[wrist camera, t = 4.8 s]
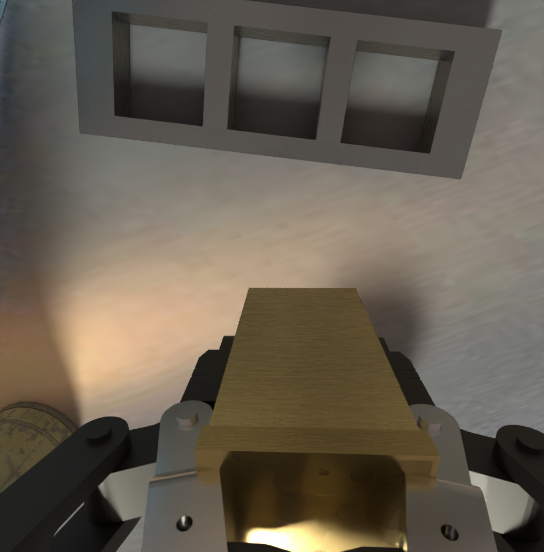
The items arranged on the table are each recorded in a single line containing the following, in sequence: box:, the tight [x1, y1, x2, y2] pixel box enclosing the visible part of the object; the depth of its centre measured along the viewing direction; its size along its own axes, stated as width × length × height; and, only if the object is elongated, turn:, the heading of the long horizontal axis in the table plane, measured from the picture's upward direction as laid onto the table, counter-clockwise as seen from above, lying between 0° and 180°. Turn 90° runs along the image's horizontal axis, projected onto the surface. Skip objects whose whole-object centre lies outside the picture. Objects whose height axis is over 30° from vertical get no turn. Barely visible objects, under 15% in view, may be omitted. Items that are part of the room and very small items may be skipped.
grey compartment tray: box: [72, 0, 502, 179], centre depth 23 cm, size 24×8×2 cm, turn 84°
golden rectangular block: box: [195, 288, 440, 552], centre depth 11 cm, size 4×4×8 cm
